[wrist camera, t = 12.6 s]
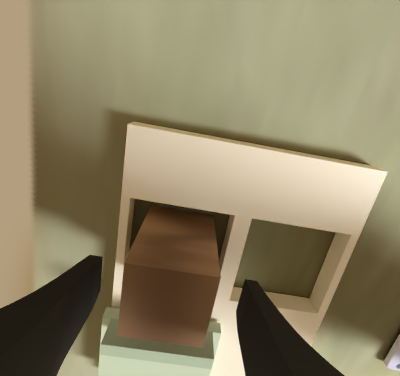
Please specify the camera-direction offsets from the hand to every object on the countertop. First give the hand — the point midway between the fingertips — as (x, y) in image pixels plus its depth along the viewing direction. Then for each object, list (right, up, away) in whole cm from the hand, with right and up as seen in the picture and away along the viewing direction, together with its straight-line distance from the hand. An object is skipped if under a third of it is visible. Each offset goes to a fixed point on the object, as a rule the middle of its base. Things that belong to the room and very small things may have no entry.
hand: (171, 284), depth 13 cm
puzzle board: (+3, -2, +5) cm, 6 cm away
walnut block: (0, +2, +4) cm, 4 cm away
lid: (-2, -7, +5) cm, 9 cm away
